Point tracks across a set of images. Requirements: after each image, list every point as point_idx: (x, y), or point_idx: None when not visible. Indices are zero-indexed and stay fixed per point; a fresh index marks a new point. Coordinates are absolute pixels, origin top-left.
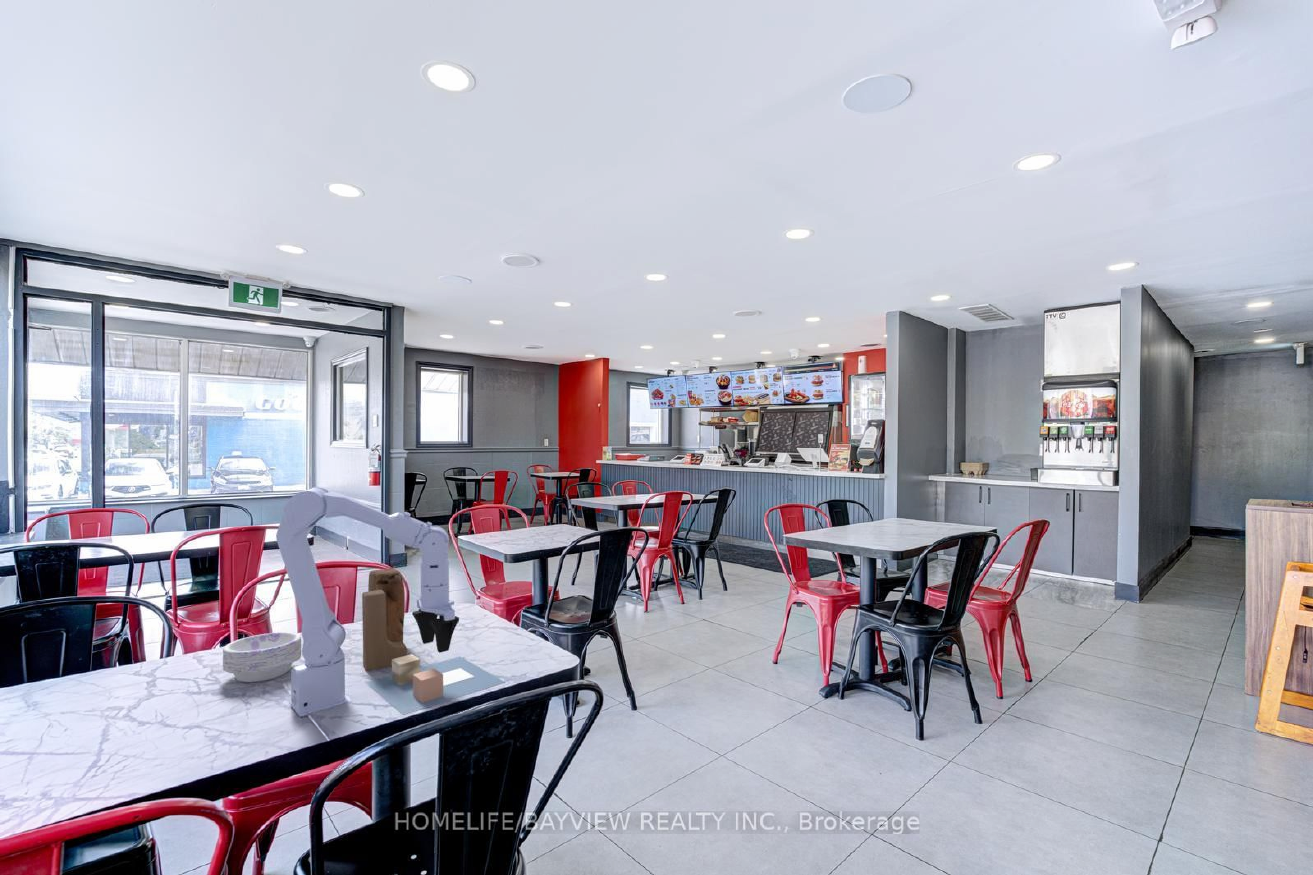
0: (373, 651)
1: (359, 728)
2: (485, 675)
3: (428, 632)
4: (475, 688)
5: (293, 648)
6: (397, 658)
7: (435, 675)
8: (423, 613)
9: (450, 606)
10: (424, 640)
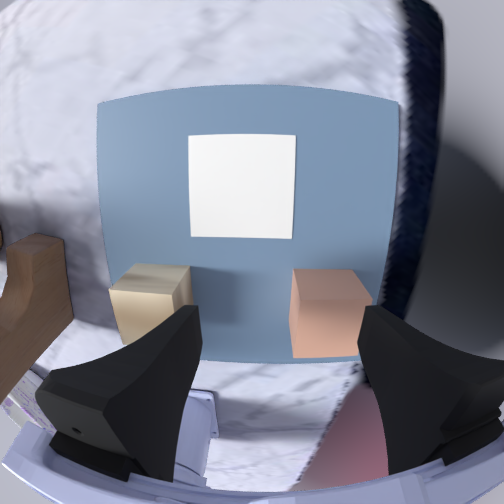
0: (46, 332)
1: (328, 404)
2: (310, 104)
3: (185, 358)
4: (377, 182)
5: (31, 405)
6: (124, 333)
7: (360, 318)
8: (159, 474)
9: (493, 485)
10: (200, 353)
